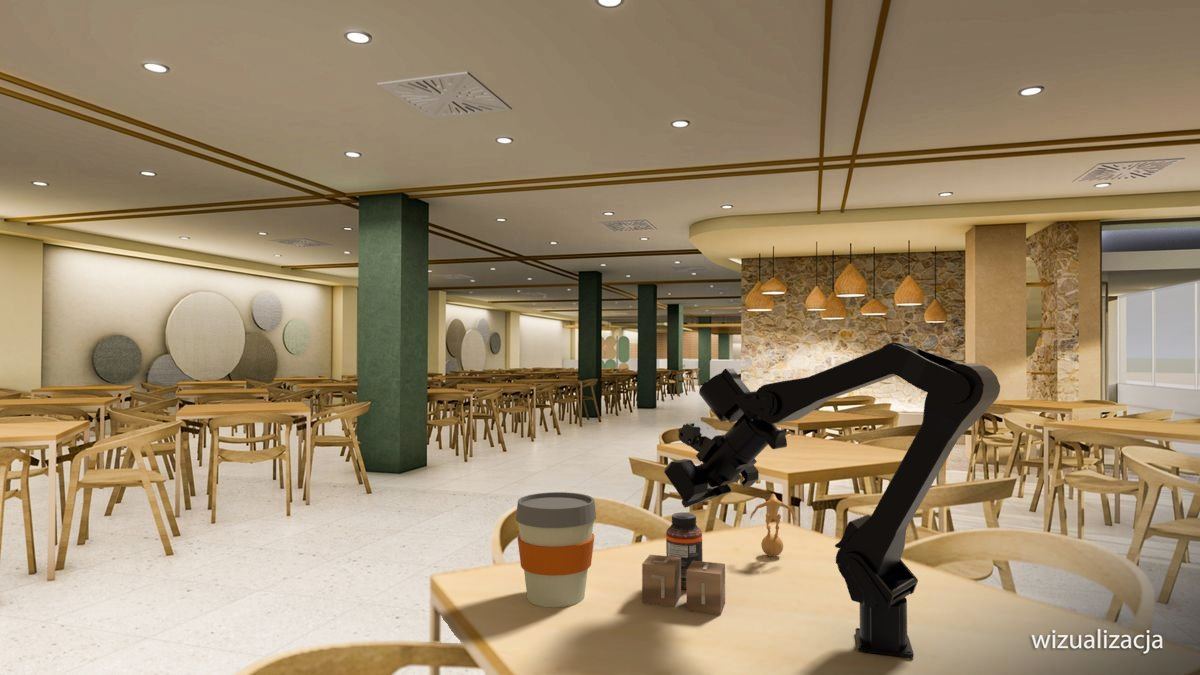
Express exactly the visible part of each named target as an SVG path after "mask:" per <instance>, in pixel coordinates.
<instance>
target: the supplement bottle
mask: <svg viewBox="0 0 1200 675" xmlns="http://www.w3.org/2000/svg"><path fill="white" fill-rule="evenodd" d="M665 536H666V537H665V542H666V544H665V545H666V546H665V547H666V548H665V550H666V552H665V553H666V556H670V557H681V590H687V585H686V571H687V569H688V567H689V566H690V564H691V562H692V561H702V562H704V561H703V532H702V530H701V528H700V527H698V525H697V515H696V514H694V513H691V512H683V511H681V512H680V511H679V512H676V513H673V514H672V515H671V524H670V526H669V527H668V528H667V530H666V534H665Z"/></svg>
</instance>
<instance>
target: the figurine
mask: <svg viewBox="0 0 1200 675" xmlns="http://www.w3.org/2000/svg"><path fill="white" fill-rule="evenodd" d="M764 507H767V509H768V511H769V513H768V512H767V513H766V514H765V523H766V529H767V535H765V536H763V539H762V540H761V544H760V545H761V550H762V551H763V553H764V554H765V555H767V556H769V557H777V556H779V555H781V553H782V552H783V550H784V543H783V541H782V539H781V537H780V536H779V530H780V525H779V524H780V522H781V518H782V515H781V514H780V513H779V510H780V507H783V508H785V509H788V510H789V512H790V514H791V515H792V518H793V520H794V521H797V518H796V514H795V512H794V511H793V508H792V507H791V506H789V505H788V504H786V503H784V502H782V501H780V500H779V499H778V498H777V496H776V494H775V493H772V494H771V495H770V497H769V499H768V500H767V501H764V502H763V503H759V504H758V505H757V506H755V508H754V510H753V511H752V512H751V514H750V516H749V517H750V518H749V519H750V520H752V519H753V516H754V515H755V514H756V513H757V511H758V509H761V508H764ZM772 520H774V523H775V527H774V528H775V532H774V534H773V533H772V534H771V526H770V523H771V522H772Z"/></svg>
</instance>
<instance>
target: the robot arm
mask: <svg viewBox="0 0 1200 675" xmlns="http://www.w3.org/2000/svg"><path fill="white" fill-rule="evenodd" d="M893 377H899V378H900V379H902V380H904V381H906V382H907V383H908V384H910V385H912V386H914V387H915V388H917V389H918V390H921V391H924V392H925V393H926V396H925V400H924V405H923V413H922V414H923V415H922V423H921V425H920V427H919V429H918V431H917V432H916V434H915V436H914V438H913V440H912V442H911V443H910V445H909V447H908V449H907V451H906V453H905V454H904V457H903V458H902V460H901V462H900V463H899V465H898V467H897V469H896V471H895V472H894V475H893V476H892V478H891V480H890V482H889V483H888V485H887V487H886V488H885V491H884V493H883V494H882V496H881V497H880V500H879V502H877V506H876V507H875V508H874V511H873V512H872V514H871V515H870V514H866V515H864V516H860V517H857V518H856V519H853V520H851V521H848V523H847V524H846V527H845V530H844V533H843V536H842V538H841V539H840V540H839V541H838V542H837V543H835V545H834V547H835V548H837V549H838V550H837V553H836V554H835V564H836V565H837V568H838V571H839V573H840V575H841V577H842V578H843V579H844V582H845V585H846V587H847V590H848V593H849V596H850V600H851V601H853V602H856V603H859V627H856V628H855V638H856V646H857V650H858V651H860V652H865V653H873V654H879V655H880V654H881V655H888V656H894V657H895V656H896V657H902V658H903V657H904V658H911V659H912V658H914V654H915V653H914V650H913V647H912V644H911V641H910V638H909V636H908V599H907V598H906V597H907V596H909V595H912V594H914V592H915V591H916V590H915V589H916V587H917V585H918V582H919V580H918V577H917V576H915V574H914V573H913V572H912V570H911V569H910V568H909V567H908V566H907V565H906V563H904V562H903V560H902V559H901V558H902V555H903V553H904V549H905V546H906V536H907V529H908V527H909V524H910V523H911V521H912V520H913V519H914V516H915V515H916V513H917V511H918V510H919V507H920V506H921V504H922V503H923V501H924V499H925V497H926V495H927V494H928V493H929V490H930V489H931V488H932V485H933V483H934V482H935V480H936V478H937V476H938V475H939V473H940V471H941V470H942V468H943V466H944V464H945V462H946V461H947V459H948V457H949V455H950V454H951V452H952V450H953V449H954V447H955V445H956V444H957V442H958V440H959V439H960V438H961V437H962V436H963V435H964V434H965V433H966V432H967V431H968V430H969V429H970V428H971V427H972V426H973V425H975V423H976V422H978V421H979V420H980V418H981V417H982V416H983V415H984V414H986V412H987V411H988V410H989V408H990V407H991V406H992V405H993V404H994V403H995V402H996V400H997V399H998V397H999V395H1000V391H1001V384H1000V382H999V379H998V376H997V375H996V373H994V371H993V370H992V369H991V368H989V367H988V366H986V365H984V364H981V363H977V362H976V363H975V362H969V363H966V362H965V363H964V362H963V363H960V362H957V361H955V360H952V359H949V358H946V357H944V356H940V355H938V354H935V353H932V352H929V351H926V350H924V349H921V348H919V347H916V346H915V345H914V344H912V343H909V342H899V341H898V342H897V341H896V342H895V341H894V342H889V343H886V344H885V345H883V346H882V347H880V348H879V349H876V350H874V351H870V352H869V353H866V354H863V355H861V356H857V357H856V358H853V359H850V360H848V361H845V362H843V363H840V364H838V365H836V366H833V367H830V368H827V369H825V370H823V371H820V372H818V373H817V372H816V373H815V374H812V375H810V376H807V377H802V378H795V379H789V380H781V381H777V382H773V383H772V382H771V383H767V384H763V385H761V386H760V387H758V389H757V390H756V391H755V390H754V391H751V390H750V389H749V387H748V386H747V385H746V384H745V383H744V382H743V380H742V379H741V378H740V377H739V374H738V373H737V372H736V370H735V369H734V368H724V369H722V371H721V373H718V374H716V375H714V376H713V377H711V378H710V379H708V380H706V381H704V383H702V384H701V387H700V388H699V391H698V394H699V396H700V397H701V398H702V399H703V401H704V402H705V404H706V405H707V406H708V407H709V409H710V410H711V411H712V412H713V414H714V415H715V416H716V418H717V419H718V420H719V421H720V422H723V423H724V422H728V423H730V424H732V423H734V424H733V425H732V426H731V427H730V428H729V429H728V430H727V431H726V433H725V434H722V433H721V432H720V431H718V430H717V429H716V428H714V427H713V426H711V425H710V424H708V423H707V422H704V421H702V420H695V421H687V422H686V423H683V425H682V426H681V428H679V429H678V436H677V437H678V440H679V441H681V442H682V443H683V444H684V445H686V446H688V447H691V449H693V450H695V451H696V452H697V453H696V455H695V457H696V458H697V460H698V461H699V462H702V463H700V464H699V465H696V464H695V463H694V461H693V460H692V459H687V458H683V459H678V460H673V461H670V462H669V463H668V464H667V465H666V467H665V468H664V472H663V473H664V474H665V475H666V477H667V478H668V481H670V483H671V484H672V486H673V487H674V489H675V490H676V491H677V493H678V494H679V496H680V498H681V499H682V500H681V505H682V506H683V508H685V509H686V508H690V507H691V506H694V505H697V504H701V503H703V502H706V501H709V500H711V499H715V498H717V497H720V496H723V495H726V494H729V493H731V492H732V489H731V487H730V486H729V485H730V484H734V483H738V481H740V480H741V479H742V478H743V479H744V480H743V481H742V482H741V483H740V485H741V487H742V488H747V487H752V486H753V485H754V484H755V483H756V482H757V481H758V480H759V478H760V477H759V469H758V468H757V467H756V466H755V464H756V463H757V462H758V461H757V460H756V458H757V456H759V454H761V452H762V451H763V450H765V449H766V447H768V446H769V447H770V448H771V449H772V450H779V449H784V448H787V446H788V443H787V437H786V433H787V431H786V429H780V428H778V427H777V426H776V425H775V424H779V423H786V422H793V421H797V420H800V419H802V418H804V417H806V415H808V414H810V413H812V412H814V411H815V410H817V409H818V408H819V407H820V406H821V405H823V404H824V403H826V402H828V401H829V400H831V399H835V398H838V397H840V396H843V395H846V394H848V393H852V392H854V391H857V390H860V389H862V388H866V387H868V386H870V385H874V384H877V383H880V382H881V381H885V380H887V379H891V378H893ZM741 476H742V477H741Z"/></svg>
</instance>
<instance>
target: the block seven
mask: <svg viewBox="0 0 1200 675" xmlns="http://www.w3.org/2000/svg"><path fill="white" fill-rule="evenodd" d="M641 565H642V566H641V568H642V569H641V576H642V578H641V582H642V583H641V585H642V586H641V591H642V592H641V602H642V604H645V605H652V606H662V607H667V608H670V607H671V608H675V607H676V605H677V604H678V602H679V600H680V598H681V597H682V589H681V557H670V556H667V555H659V554H658V555H657V554H649V555H648V557H647V558H646V559H645V560H644V561H643V562H642V564H641Z"/></svg>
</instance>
